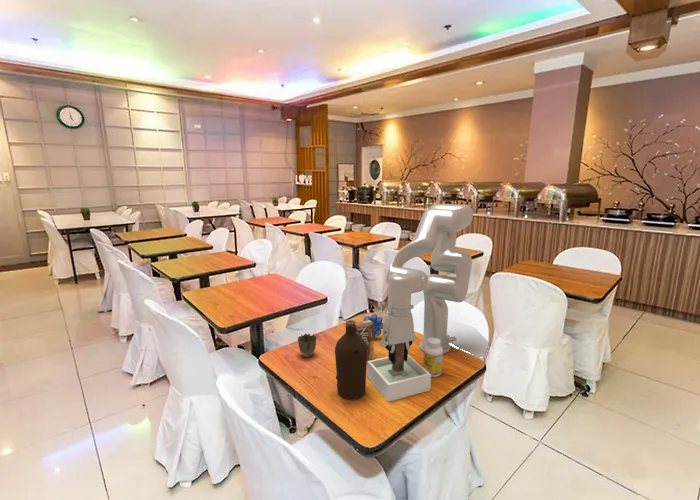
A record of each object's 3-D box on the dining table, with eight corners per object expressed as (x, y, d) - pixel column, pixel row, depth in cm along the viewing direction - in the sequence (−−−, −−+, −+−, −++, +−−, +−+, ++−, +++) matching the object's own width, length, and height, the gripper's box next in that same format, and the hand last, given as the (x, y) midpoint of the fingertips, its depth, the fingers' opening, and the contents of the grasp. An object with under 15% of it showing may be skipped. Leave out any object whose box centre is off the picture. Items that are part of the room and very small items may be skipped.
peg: (400, 364, 126) (400, 333, 124) (405, 370, 123) (406, 337, 120) (390, 367, 125) (390, 335, 122) (395, 372, 121) (396, 339, 119)
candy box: (369, 354, 145) (369, 319, 142) (374, 359, 141) (374, 323, 138) (349, 359, 141) (348, 323, 138) (354, 364, 138) (353, 327, 134)
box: (406, 367, 135) (406, 352, 134) (430, 390, 121) (431, 374, 119) (367, 376, 129) (367, 361, 128) (388, 401, 115) (388, 385, 114)
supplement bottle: (419, 370, 133) (420, 338, 130) (434, 366, 136) (435, 335, 133) (430, 379, 127) (431, 346, 124) (445, 375, 130) (447, 342, 127)
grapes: (382, 334, 163) (383, 310, 160) (385, 341, 156) (385, 315, 154) (357, 335, 162) (357, 310, 160) (358, 342, 155) (358, 316, 153)
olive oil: (373, 390, 121) (373, 321, 116) (353, 405, 113) (352, 332, 108) (349, 379, 128) (349, 313, 123) (329, 392, 120) (327, 323, 115)
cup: (295, 358, 143) (294, 339, 141) (304, 350, 149) (303, 332, 148) (311, 361, 140) (311, 342, 138) (320, 353, 147) (319, 335, 145)
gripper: (414, 303, 126) (413, 351, 130) (371, 310, 120) (371, 360, 124) (426, 310, 119) (424, 360, 123) (381, 318, 113) (381, 370, 117)
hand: (398, 359), depth 123 cm, fingers closed on peg, 4 cm apart
